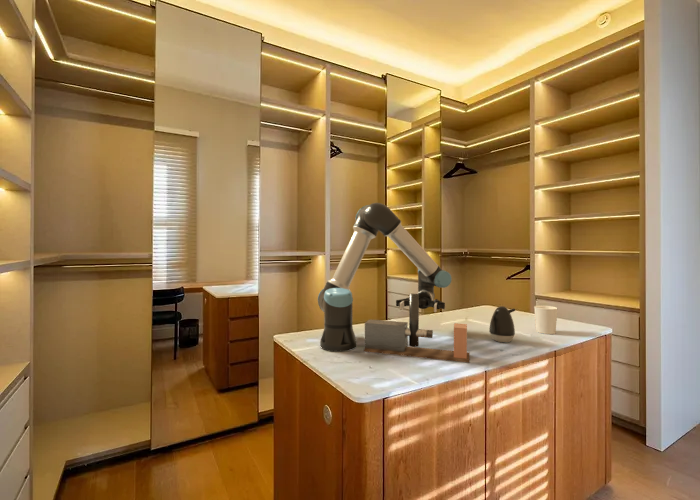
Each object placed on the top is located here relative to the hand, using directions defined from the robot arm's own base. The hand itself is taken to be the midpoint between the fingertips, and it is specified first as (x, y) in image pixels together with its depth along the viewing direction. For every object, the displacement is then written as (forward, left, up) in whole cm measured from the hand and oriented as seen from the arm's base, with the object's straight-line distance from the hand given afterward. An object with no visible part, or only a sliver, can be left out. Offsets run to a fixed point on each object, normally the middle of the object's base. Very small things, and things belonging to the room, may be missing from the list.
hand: (417, 307), depth 139 cm
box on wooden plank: (-12, -4, -16) cm, 20 cm away
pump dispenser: (+33, +25, -17) cm, 45 cm away
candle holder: (+54, +48, -17) cm, 74 cm away
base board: (0, -4, -17) cm, 18 cm away
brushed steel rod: (-6, -4, -14) cm, 16 cm away
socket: (+17, -4, -16) cm, 23 cm away
